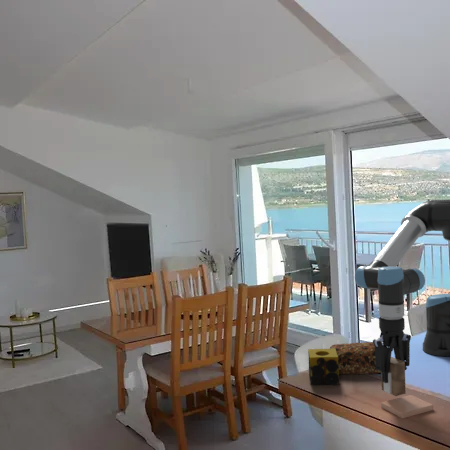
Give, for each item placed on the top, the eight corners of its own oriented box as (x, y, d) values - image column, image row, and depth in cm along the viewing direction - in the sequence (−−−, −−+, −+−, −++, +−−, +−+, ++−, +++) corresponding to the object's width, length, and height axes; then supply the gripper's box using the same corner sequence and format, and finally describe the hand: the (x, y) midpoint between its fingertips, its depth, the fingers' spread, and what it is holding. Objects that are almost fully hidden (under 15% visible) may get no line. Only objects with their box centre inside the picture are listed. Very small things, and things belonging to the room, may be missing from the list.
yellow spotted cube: (336, 375, 184) (336, 348, 184) (340, 385, 174) (339, 356, 174) (308, 375, 185) (307, 348, 185) (310, 385, 175) (309, 357, 175)
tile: (410, 394, 160) (433, 404, 152) (411, 401, 160) (433, 411, 152) (380, 402, 155) (402, 413, 147) (381, 409, 155) (402, 420, 147)
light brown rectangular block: (391, 387, 162) (390, 356, 161) (405, 393, 156) (404, 361, 156) (381, 389, 160) (381, 358, 160) (395, 396, 155) (394, 364, 154)
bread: (379, 365, 193) (378, 339, 193) (385, 375, 182) (384, 347, 182) (329, 365, 195) (328, 340, 195) (332, 375, 185) (331, 348, 184)
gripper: (378, 323, 150) (380, 400, 151) (421, 315, 157) (423, 389, 158) (361, 318, 157) (363, 392, 158) (403, 311, 164) (405, 381, 165)
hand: (393, 390), depth 158 cm, fingers closed on light brown rectangular block, 4 cm apart
